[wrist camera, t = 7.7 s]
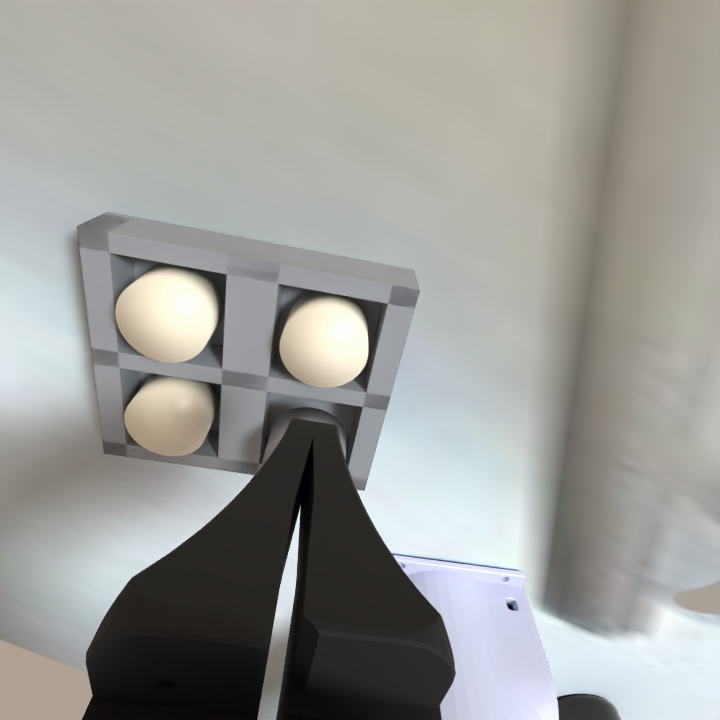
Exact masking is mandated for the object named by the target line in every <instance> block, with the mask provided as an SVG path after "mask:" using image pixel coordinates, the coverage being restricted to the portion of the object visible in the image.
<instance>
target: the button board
mask: <svg viewBox="0 0 720 720" xmlns="http://www.w3.org/2000/svg"><path fill="white" fill-rule="evenodd" d="M77 232H78V240H79V249H80V257H81V265H82V274H83V282H84V290H85V299H86V307H87V315H88V324H89V332H90V340H91V349H92V357H93V366H94V374H95V382H96V391H97V399H98V407H99V416H100V424H101V432H102V441H103V449H104V453H105V454H112V455H119V456H126V457H133V458H140V459H147V460H154V461H161V462H168V463H175V464H182V465H189V466H196V467H203V468H210V469H217V470H224V471H231V472H238V473H245V474H252V475H256V473H257V472H258V471H259V470H260V469H261V467H262V464H263V457H264V454H265V450H266V446H267V443H268V439H269V435H270V432H271V428H272V426H273V424H274V422H275V420H276V419H277V418H278V417H279V416H280V415H282V414H283V413H285V412H287V411H289V410H292V409H295V408H301V407H312V408H317V409H321V410H324V411H326V412H328V413H330V414H332V415H333V416H334V417H336V418H337V419H338V420H339V421H340V422H341V424H342V425H343V427H344V429H345V432H346V463H347V466H348V469H349V471H350V474H351V477H352V480H353V482H354V485H355V487H356V489H357V490H365V487H366V483H367V480H368V476H369V472H370V469H371V465H372V461H373V458H374V454H375V451H376V447H377V443H378V440H379V436H380V433H381V429H382V425H383V422H384V418H385V414H386V411H387V407H388V404H389V400H390V396H391V393H392V389H393V386H394V382H395V378H396V375H397V371H398V367H399V364H400V360H401V357H402V353H403V349H404V346H405V342H406V339H407V335H408V331H409V328H410V324H411V320H412V317H413V313H414V310H415V306H416V302H417V299H418V295H419V291H420V289H419V285H418V282H417V279H416V275H415V272H414V270H409V269H404V268H398V267H393V266H388V265H382V264H377V263H372V262H367V261H361V260H356V259H351V258H346V257H340V256H335V255H330V254H325V253H319V252H314V251H309V250H304V249H298V248H293V247H288V246H282V245H277V244H272V243H267V242H261V241H256V240H251V239H246V238H240V237H235V236H230V235H225V234H219V233H214V232H209V231H203V230H198V229H193V228H188V227H182V226H177V225H172V224H167V223H161V222H156V221H151V220H146V219H140V218H135V217H130V216H125V215H119V214H114V213H109V212H106V213H104V214H102V215H100V216H98V217H96V218H94V219H91V220H89V221H87V222H85V223H83V224H81V225H79V226H77ZM162 263H168V264H173V265H179V266H184V267H190V268H195V269H197V270H198V271H200V272H202V273H203V274H204V275H205V276H207V277H208V278H209V279H210V280H211V282H212V283H213V284H214V285H215V287H216V289H217V290H218V292H219V294H220V297H221V300H222V310H223V311H222V317H221V320H220V322H219V324H218V326H217V328H216V329H215V331H214V332H213V334H212V336H211V337H210V339H209V340H208V342H207V344H206V345H205V347H204V348H203V350H202V351H201V352H200V353H199V354H198V355H196V356H195V357H193V358H192V359H189V360H187V361H183V362H178V363H167V362H161V361H157V360H154V359H151V358H149V357H146V356H145V355H143V354H141V353H140V352H138V351H137V350H135V349H134V348H133V347H132V346H131V345H130V344H129V343H128V342H127V341H126V339H125V338H124V337H123V335H122V334H121V332H120V330H119V328H118V325H117V322H116V316H115V309H116V304H117V300H118V298H119V296H120V295H121V293H122V292H123V291H124V290H125V289H126V288H127V287H128V286H130V285H131V284H132V283H133V282H135V281H136V280H137V279H138V278H139V277H141V276H142V275H143V274H144V273H145V272H147V271H148V270H149V269H151V268H152V267H154V266H156V265H159V264H162ZM317 291H321V292H327V293H332V294H338V295H343V296H348V297H350V298H351V299H353V300H354V301H355V302H356V303H357V304H358V305H359V306H360V307H361V309H362V310H363V312H364V314H365V316H366V319H367V324H368V359H367V362H366V364H365V366H364V368H363V370H362V371H361V372H360V374H359V375H358V376H357V377H355V378H354V379H353V380H351V381H350V382H348V383H346V384H344V385H341V386H337V387H331V388H321V387H315V386H311V385H308V384H305V383H303V382H301V381H300V380H298V379H297V378H295V377H294V376H293V375H292V374H291V373H290V372H289V371H288V370H287V368H286V367H285V365H284V364H283V361H282V359H281V355H280V349H279V348H280V339H281V336H282V333H283V330H284V327H285V324H286V321H287V318H288V315H289V312H290V310H291V309H292V307H293V306H294V304H295V303H296V302H297V301H298V300H300V299H301V298H302V297H304V296H306V295H308V294H310V293H313V292H317ZM153 374H160V375H166V376H172V377H179V378H185V379H191V380H197V381H204V382H208V383H209V385H210V386H211V387H212V388H213V390H214V391H215V393H216V396H217V399H218V411H217V414H216V416H215V418H214V420H213V423H212V425H211V427H210V429H209V431H208V433H207V436H206V438H205V440H204V442H203V444H202V445H201V446H200V447H199V448H198V449H197V450H196V451H194V452H192V453H190V454H187V455H183V456H165V455H160V454H157V453H154V452H151V451H149V450H147V449H146V448H144V447H142V446H141V445H140V444H138V443H137V442H136V441H135V440H134V439H133V438H132V437H131V435H130V434H129V432H128V430H127V428H126V425H125V421H124V415H125V411H126V408H127V407H128V405H129V404H130V402H131V401H132V400H133V398H134V397H135V396H136V394H137V393H138V392H139V390H140V389H141V388H142V386H143V385H144V384H145V382H146V381H147V380H148V378H149V377H150V376H152V375H153Z"/></svg>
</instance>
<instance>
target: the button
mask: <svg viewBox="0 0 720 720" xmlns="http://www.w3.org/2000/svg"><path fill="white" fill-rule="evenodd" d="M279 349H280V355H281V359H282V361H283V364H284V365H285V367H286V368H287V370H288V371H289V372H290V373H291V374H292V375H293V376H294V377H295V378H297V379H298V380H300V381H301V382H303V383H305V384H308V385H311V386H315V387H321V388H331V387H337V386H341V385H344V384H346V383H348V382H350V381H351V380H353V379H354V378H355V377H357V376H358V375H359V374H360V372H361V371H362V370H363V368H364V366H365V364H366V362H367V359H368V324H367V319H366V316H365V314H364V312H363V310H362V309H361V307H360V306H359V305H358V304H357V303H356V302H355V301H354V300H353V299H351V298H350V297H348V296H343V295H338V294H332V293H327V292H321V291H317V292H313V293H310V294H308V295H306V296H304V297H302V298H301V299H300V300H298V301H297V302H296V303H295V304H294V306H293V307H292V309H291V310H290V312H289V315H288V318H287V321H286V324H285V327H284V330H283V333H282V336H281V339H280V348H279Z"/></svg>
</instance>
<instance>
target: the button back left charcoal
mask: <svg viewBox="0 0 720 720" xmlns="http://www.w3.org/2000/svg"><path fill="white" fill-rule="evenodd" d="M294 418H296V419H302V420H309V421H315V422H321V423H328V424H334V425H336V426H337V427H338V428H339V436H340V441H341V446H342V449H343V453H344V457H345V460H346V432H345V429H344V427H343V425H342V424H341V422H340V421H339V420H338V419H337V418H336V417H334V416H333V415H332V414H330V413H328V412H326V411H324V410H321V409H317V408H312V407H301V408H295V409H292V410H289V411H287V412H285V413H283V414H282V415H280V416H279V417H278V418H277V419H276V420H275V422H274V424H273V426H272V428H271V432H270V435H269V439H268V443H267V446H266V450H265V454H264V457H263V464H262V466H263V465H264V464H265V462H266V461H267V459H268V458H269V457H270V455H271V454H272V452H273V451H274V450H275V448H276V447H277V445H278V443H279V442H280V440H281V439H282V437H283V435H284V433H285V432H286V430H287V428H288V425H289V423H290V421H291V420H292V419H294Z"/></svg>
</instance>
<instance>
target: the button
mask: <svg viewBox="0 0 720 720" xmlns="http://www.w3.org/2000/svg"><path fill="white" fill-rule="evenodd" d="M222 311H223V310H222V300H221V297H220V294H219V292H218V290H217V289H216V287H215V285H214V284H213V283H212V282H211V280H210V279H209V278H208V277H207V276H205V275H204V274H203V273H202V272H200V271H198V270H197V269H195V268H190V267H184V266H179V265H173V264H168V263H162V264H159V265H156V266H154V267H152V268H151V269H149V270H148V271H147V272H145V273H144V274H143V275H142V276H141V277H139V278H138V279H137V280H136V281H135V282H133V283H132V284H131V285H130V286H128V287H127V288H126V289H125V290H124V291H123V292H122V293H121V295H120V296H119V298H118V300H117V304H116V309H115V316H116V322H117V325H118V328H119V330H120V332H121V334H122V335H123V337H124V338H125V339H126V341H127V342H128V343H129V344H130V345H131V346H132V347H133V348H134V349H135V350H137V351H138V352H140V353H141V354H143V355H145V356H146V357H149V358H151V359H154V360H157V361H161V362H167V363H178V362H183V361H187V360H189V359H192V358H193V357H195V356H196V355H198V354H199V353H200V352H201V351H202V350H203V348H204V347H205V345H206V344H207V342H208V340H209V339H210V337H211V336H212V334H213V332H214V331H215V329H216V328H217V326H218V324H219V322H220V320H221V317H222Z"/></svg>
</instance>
